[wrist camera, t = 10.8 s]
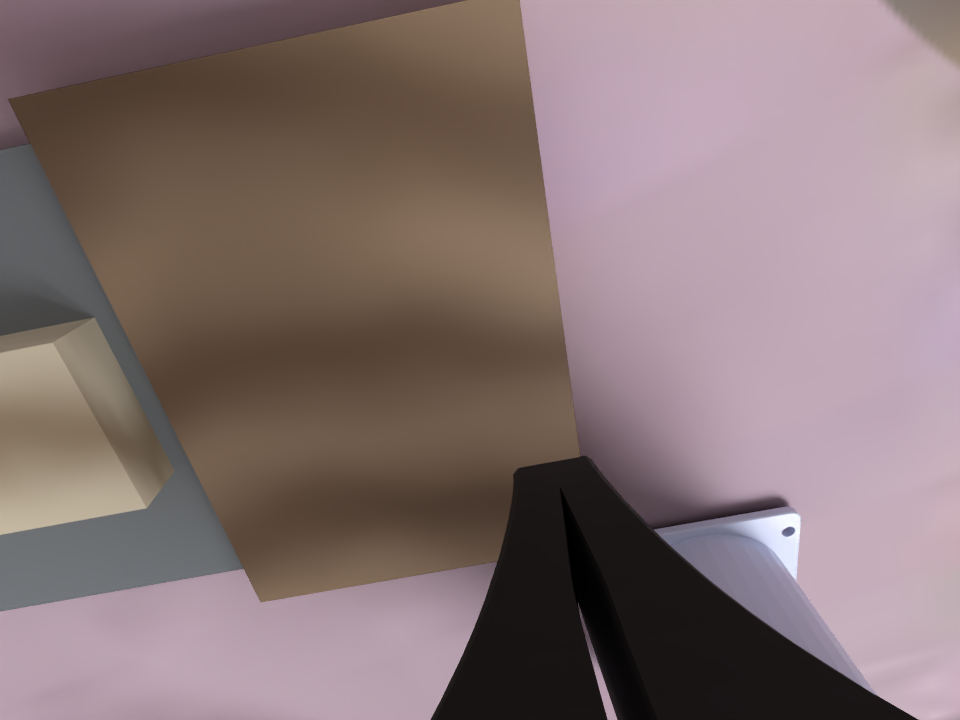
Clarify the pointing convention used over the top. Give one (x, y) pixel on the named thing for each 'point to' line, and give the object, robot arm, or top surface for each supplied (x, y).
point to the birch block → (71, 431)
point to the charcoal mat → (182, 500)
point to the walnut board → (333, 282)
